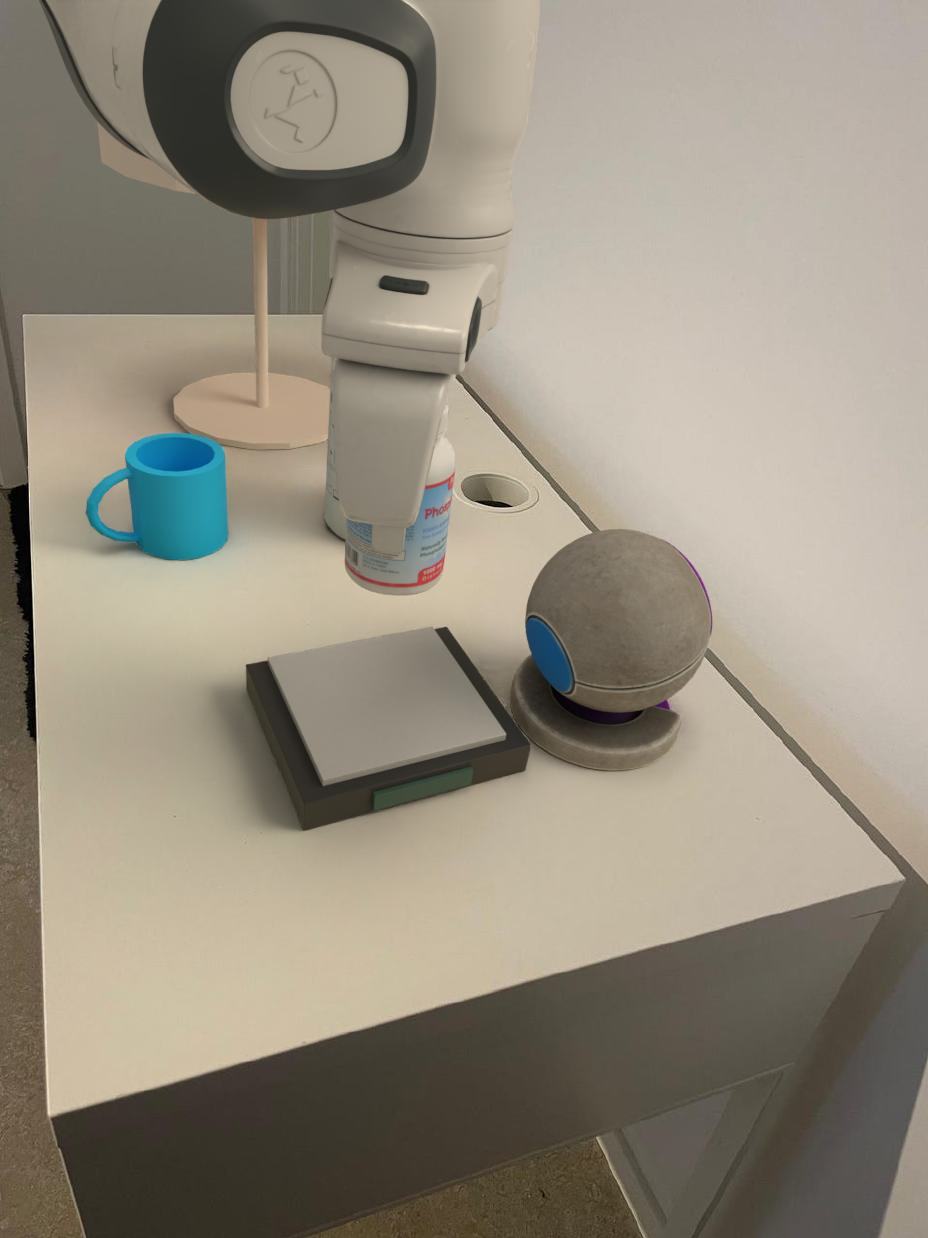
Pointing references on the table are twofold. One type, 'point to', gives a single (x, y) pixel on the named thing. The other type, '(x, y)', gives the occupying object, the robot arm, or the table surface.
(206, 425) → the desk lamp
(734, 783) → the table surface
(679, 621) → the webcam
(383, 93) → the robot arm
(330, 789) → the scale
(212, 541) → the mug
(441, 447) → the pill bottle
